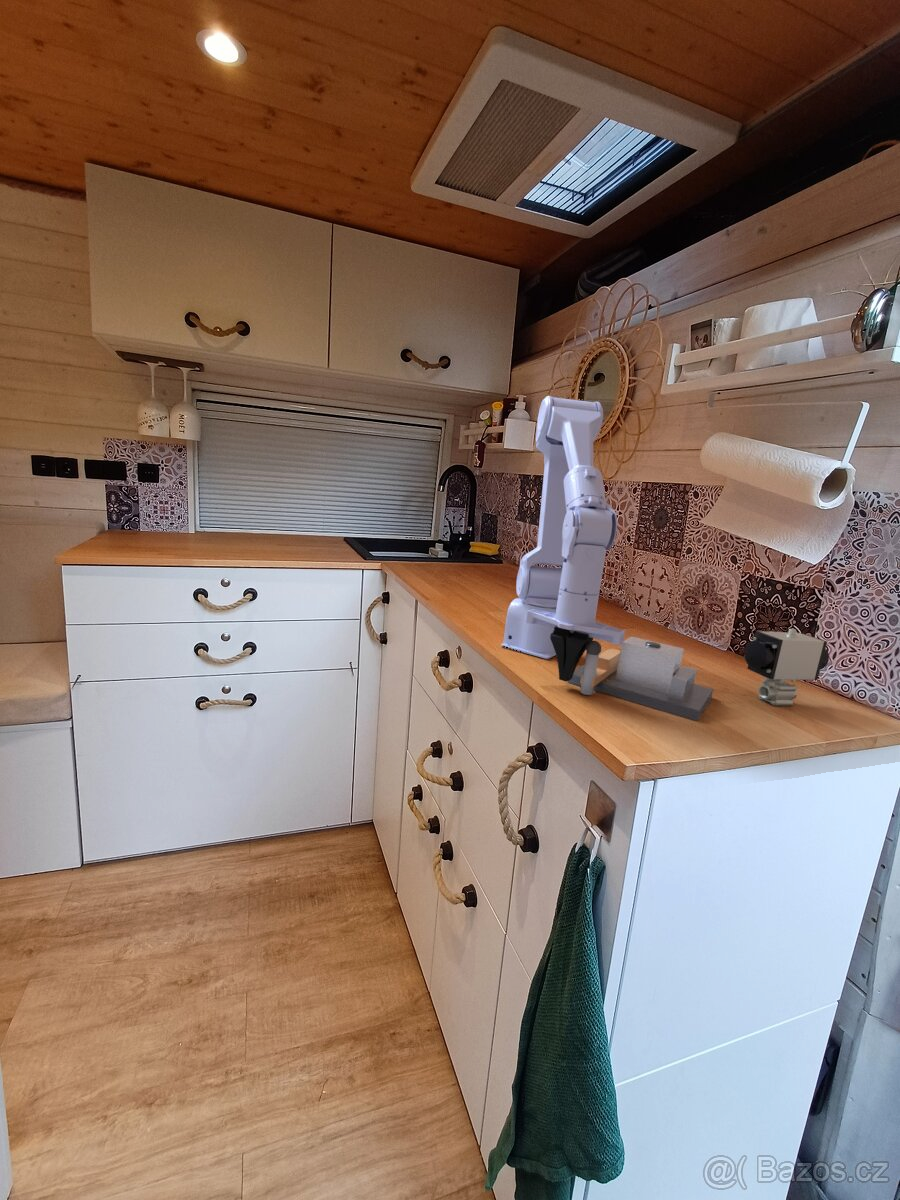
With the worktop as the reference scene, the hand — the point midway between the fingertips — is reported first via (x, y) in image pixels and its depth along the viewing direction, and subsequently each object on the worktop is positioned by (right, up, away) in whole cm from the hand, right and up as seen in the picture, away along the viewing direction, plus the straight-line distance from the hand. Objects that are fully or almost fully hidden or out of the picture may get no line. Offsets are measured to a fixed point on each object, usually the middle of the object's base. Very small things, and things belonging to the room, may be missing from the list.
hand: (565, 679), depth 84 cm
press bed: (+13, -2, +3) cm, 13 cm away
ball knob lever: (+6, -1, +3) cm, 7 cm away
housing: (+13, -1, +2) cm, 13 cm away
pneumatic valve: (+34, -4, +4) cm, 34 cm away
